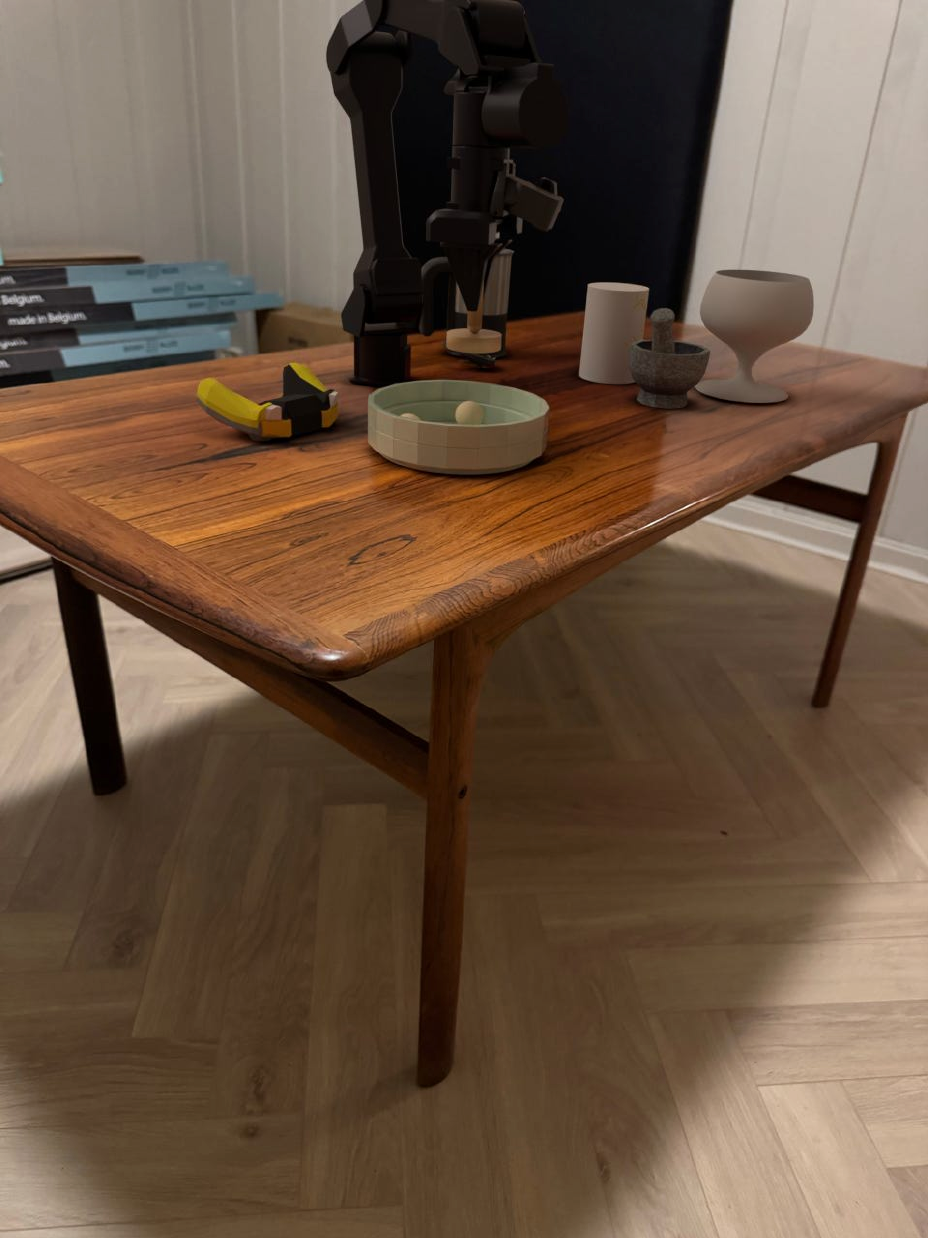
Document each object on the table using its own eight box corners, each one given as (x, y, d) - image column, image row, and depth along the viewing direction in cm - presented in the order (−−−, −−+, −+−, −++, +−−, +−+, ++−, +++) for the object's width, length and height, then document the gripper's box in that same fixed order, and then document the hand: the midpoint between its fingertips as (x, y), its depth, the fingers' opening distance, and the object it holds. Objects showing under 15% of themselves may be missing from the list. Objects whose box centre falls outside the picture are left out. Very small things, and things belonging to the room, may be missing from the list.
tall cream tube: (636, 386, 124) (648, 293, 119) (576, 380, 126) (585, 288, 120) (638, 373, 132) (649, 285, 126) (581, 368, 133) (590, 280, 127)
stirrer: (440, 350, 99) (442, 246, 94) (453, 341, 104) (456, 242, 99) (494, 355, 98) (500, 250, 93) (505, 345, 103) (511, 245, 98)
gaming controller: (191, 430, 97) (254, 451, 91) (186, 378, 94) (250, 396, 89) (298, 406, 107) (359, 423, 102) (296, 358, 105) (359, 373, 100)
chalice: (676, 396, 120) (694, 275, 113) (699, 376, 131) (718, 265, 125) (786, 413, 115) (812, 287, 108) (801, 391, 126) (826, 275, 119)
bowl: (342, 463, 89) (341, 412, 87) (400, 417, 105) (400, 373, 103) (525, 487, 86) (529, 435, 83) (557, 435, 101) (561, 390, 99)
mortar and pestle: (639, 389, 123) (651, 295, 117) (708, 400, 119) (724, 303, 114) (609, 406, 114) (621, 305, 109) (683, 419, 110) (699, 315, 105)
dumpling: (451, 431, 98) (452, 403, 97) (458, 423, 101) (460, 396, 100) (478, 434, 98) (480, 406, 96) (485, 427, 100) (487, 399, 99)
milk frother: (486, 345, 145) (492, 244, 138) (545, 366, 133) (554, 256, 126) (406, 351, 138) (408, 245, 131) (460, 374, 126) (465, 258, 119)
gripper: (546, 149, 82) (533, 329, 89) (573, 151, 99) (560, 303, 106) (426, 143, 84) (423, 320, 91) (472, 147, 101) (466, 296, 108)
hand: (474, 309), depth 99 cm, fingers closed on stirrer
